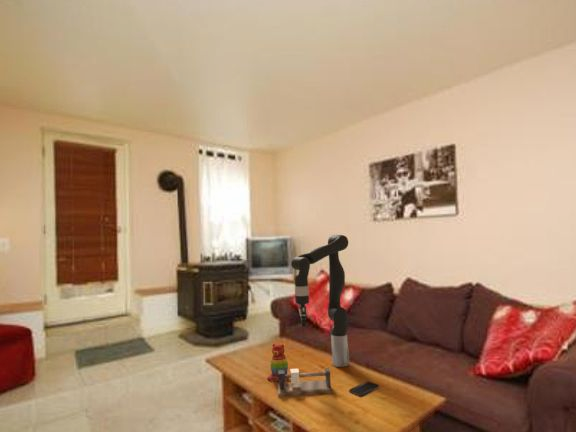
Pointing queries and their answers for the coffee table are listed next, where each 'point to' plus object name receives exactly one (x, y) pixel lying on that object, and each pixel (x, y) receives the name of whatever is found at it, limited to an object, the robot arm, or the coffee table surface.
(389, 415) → the coffee table surface
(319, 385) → the grey slider rail toy
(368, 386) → the phone
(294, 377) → the sleeve
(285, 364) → the stacking bear
